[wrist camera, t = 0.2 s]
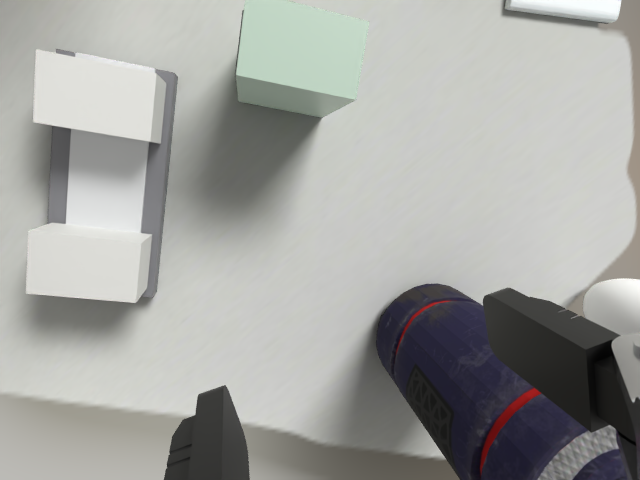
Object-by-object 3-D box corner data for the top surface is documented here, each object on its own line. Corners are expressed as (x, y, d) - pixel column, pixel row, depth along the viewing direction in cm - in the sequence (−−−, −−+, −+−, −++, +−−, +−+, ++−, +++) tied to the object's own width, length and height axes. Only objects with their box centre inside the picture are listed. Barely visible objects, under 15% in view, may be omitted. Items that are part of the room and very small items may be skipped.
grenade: (402, 397, 46) (664, 790, 18) (353, 317, 43) (574, 636, 14) (499, 333, 47) (906, 607, 18) (459, 250, 44) (870, 422, 15)
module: (243, 43, 36) (243, -11, 24) (330, 63, 38) (369, 21, 26) (236, 101, 37) (233, 74, 25) (322, 117, 39) (355, 100, 27)
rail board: (66, 54, 34) (28, 32, 28) (177, 77, 36) (164, 60, 30) (53, 282, 37) (17, 305, 31) (156, 291, 39) (141, 315, 33)
